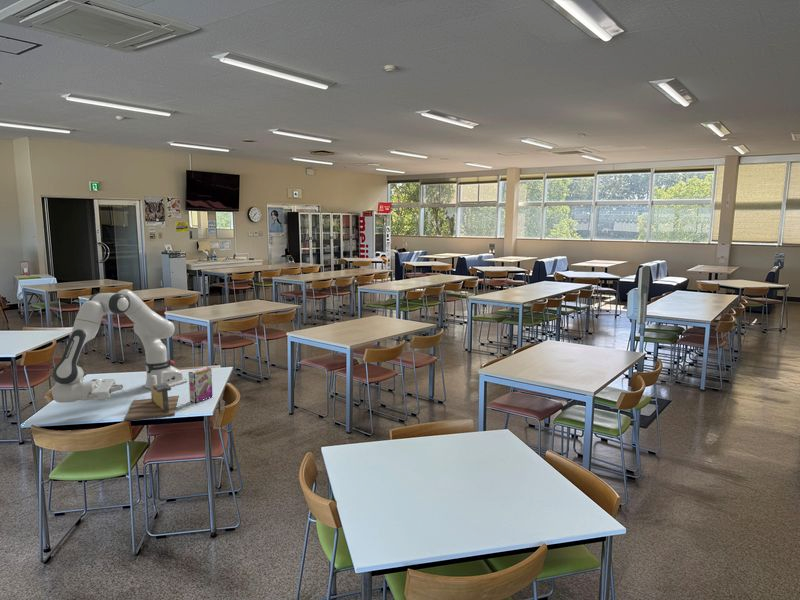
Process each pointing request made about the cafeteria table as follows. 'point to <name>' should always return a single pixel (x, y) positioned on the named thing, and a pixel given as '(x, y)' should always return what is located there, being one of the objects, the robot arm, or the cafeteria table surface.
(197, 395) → the candy bar box
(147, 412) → the pintle board
